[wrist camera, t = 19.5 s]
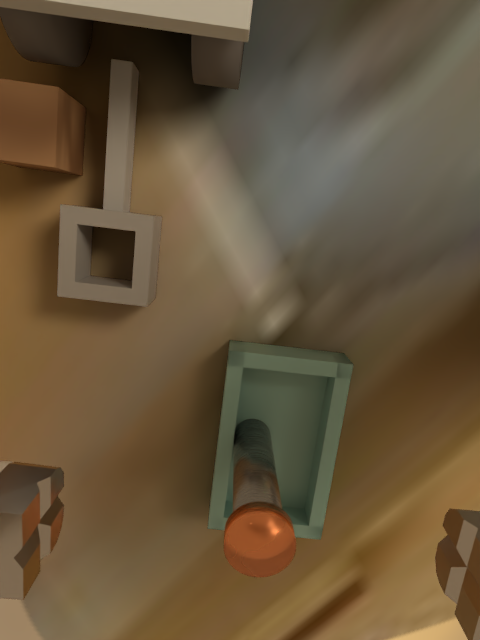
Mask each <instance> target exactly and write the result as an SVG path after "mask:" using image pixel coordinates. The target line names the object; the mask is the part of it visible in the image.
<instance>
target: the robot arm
mask: <svg viewBox="0 0 480 640" xmlns="http://www.w3.org/2000/svg"><path fill="white" fill-rule="evenodd" d="M63 487H64V473H63V471H62V469H61V468H60V467H52V466H44V465H36V464H29V463H21V462H12V461H4V460H0V598H6V599H19V600H24V598H25V596H26V594H27V593H28V591H29V589H30V588H31V586H32V584H33V582H34V581H35V579H36V577H37V576H38V574H39V572H40V559H42V558H44V557H45V556H47V555H49V554H50V553H51V551H52V550H53V548H54V546H55V544H56V542H57V539H58V536H59V533H60V530H61V527H62V521H63V511H64V505H63V503H62V502H61V500H60V499H59V498H58V494H59V493H60V491H61V490H62V488H63ZM443 527H444V529H445V531H446V533H447V536H446V537H445V538H444V539H443V540H441V541H440V542H439V543H438V546H437V551H436V556H435V562H436V573H437V577H438V580H439V583H440V586H441V588H442V590H443V592H444V594H445V595H447V596H448V597H449V598H450V599H451V600H453V601H454V602H455V603H456V604H457V606H456V610H455V615H456V617H457V619H458V621H459V623H460V625H461V627H462V629H463V631H464V632H465V635H466V637H467V639H468V640H480V511H472V510H461V509H449V510H448V512H447V513H446V515H445V518H444V522H443Z"/></svg>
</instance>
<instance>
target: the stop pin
mask: <svg viewBox="0 0 480 640" xmlns="http://www.w3.org/2000/svg"><path fill="white" fill-rule="evenodd" d="M224 552H225V556H226V558H227V560H228V562H229V563H230V565H231V566H232V567H233V568H234V569H236V570H237V571H239V572H240V573H242V574H245V575H247V576H251V577H267V576H271V575H274V574H277V573H279V572H281V571H282V570H283V569H285V568H286V567H287V566H288V565H289V564H290V562H291V561H292V559H293V557H294V555H295V552H296V539H295V534H294V528H293V524H292V521H291V519H290V517H289V515H288V514H287V513H286V512H285V511H284V510H283V509H282V505H281V498H280V492H279V486H278V479H277V473H276V467H275V460H274V454H273V448H272V441H271V435H270V430H269V428H268V426H267V425H266V424H265V423H264V422H262V421H261V420H258V419H246V420H244V421H242V422H240V423H239V424H238V425H237V427H236V428H235V433H234V452H233V513H232V514H231V515H230V516H229V518H228V520H227V522H226V524H225V530H224Z"/></svg>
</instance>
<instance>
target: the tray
mask: <svg viewBox="0 0 480 640" xmlns="http://www.w3.org/2000/svg"><path fill="white" fill-rule="evenodd" d="M352 369H353V364H352V362H351V361H350V360H349V359H348V358H347V356H346V355H345V354H344V353H337V352H329V351H320V350H311V349H303V348H294V347H285V346H276V345H268V344H259V343H250V342H242V341H233V340H230V342H229V350H228V358H227V366H226V375H225V383H224V391H223V399H222V407H221V415H220V424H219V432H218V440H217V448H216V456H215V464H214V473H213V481H212V489H211V497H210V505H209V517H208V529H217V530H225V524H226V522H227V520H228V518H229V516H230V515H231V514H232V513H233V452H234V433H235V428H236V427H237V425H238V424H239V423H240V422H242V421H244V420H246V419H258V420H261V421H262V422H264V423H265V424H266V425H267V426H268V428H269V430H270V435H271V441H272V448H273V454H274V460H275V467H276V473H277V479H278V486H279V492H280V498H281V505H282V509H283V510H284V511H285V512H286V513H287V514H288V515H289V517H290V519H291V521H292V524H293V528H294V534H295V537H299V538H310V539H320V540H321V535H322V530H323V525H324V519H325V514H326V508H327V503H328V498H329V492H330V487H331V482H332V476H333V471H334V466H335V460H336V455H337V450H338V444H339V439H340V434H341V428H342V423H343V418H344V412H345V407H346V401H347V396H348V391H349V385H350V380H351V375H352Z"/></svg>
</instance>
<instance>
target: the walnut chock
mask: <svg viewBox="0 0 480 640" xmlns="http://www.w3.org/2000/svg"><path fill="white" fill-rule="evenodd" d="M85 119H86V108H85V107H84V106H83V105H81V104H80V103H79V102H78V101H76V100H75V99H74V98H72V97H71V96H70V95H68V94H67V93H66V92H64V91H63V90H62V89H61V88H59V87H56V86H49V85H42V84H35V83H28V82H21V81H14V80H8V79H1V78H0V162H1V163H5V164H9V165H13V166H17V167H23V168H31V169H38V170H45V171H52V172H60V173H67V174H74V175H83V157H84V138H85Z"/></svg>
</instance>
